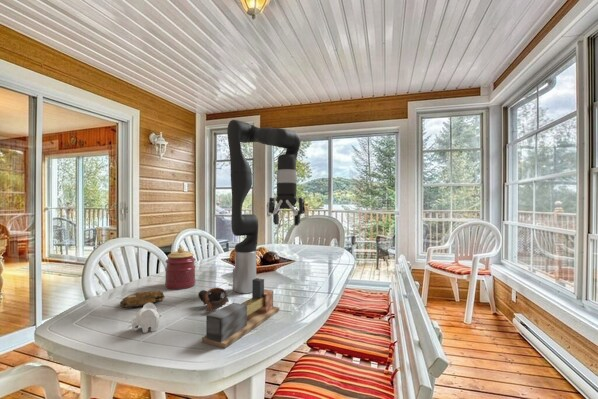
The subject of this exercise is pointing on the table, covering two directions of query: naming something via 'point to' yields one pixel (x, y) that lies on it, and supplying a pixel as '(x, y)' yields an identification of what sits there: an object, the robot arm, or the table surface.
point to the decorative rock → (142, 298)
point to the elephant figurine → (146, 318)
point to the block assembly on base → (236, 321)
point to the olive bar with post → (256, 296)
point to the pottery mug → (213, 298)
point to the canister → (180, 270)
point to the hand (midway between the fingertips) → (286, 224)
